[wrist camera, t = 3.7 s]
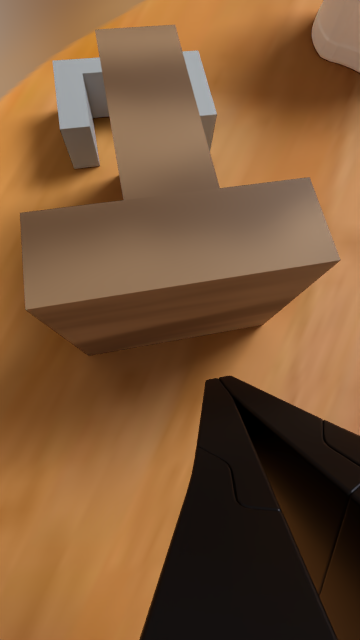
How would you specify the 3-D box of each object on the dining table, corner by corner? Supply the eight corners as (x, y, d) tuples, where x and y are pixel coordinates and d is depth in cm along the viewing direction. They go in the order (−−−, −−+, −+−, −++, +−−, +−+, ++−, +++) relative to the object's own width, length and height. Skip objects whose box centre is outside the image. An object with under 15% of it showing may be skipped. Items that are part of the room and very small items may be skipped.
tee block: (263, 324, 21) (340, 260, 12) (88, 355, 20) (25, 309, 11) (217, 163, 25) (250, 20, 16) (69, 180, 23) (10, 34, 14)
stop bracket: (209, 153, 25) (216, 114, 22) (74, 168, 24) (59, 129, 20) (193, 95, 27) (198, 50, 23) (67, 106, 25) (52, 60, 22)
